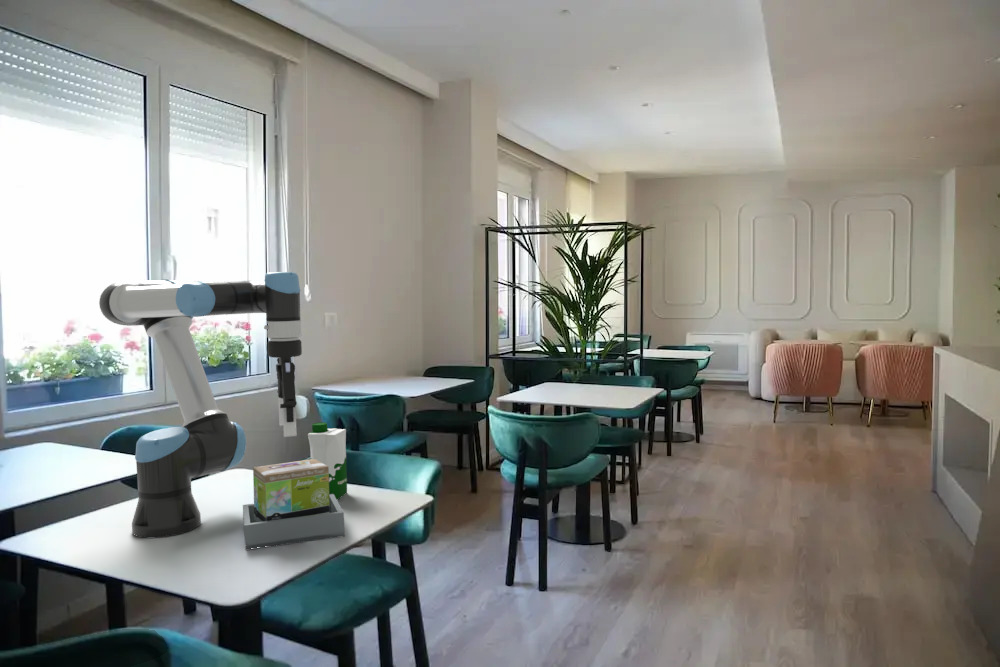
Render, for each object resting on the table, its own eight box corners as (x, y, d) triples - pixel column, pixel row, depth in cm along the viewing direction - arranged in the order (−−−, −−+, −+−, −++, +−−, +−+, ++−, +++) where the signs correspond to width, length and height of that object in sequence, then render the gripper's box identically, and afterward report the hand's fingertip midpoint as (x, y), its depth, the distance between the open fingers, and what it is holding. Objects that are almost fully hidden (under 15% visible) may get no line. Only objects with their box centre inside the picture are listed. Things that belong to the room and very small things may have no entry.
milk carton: (321, 491, 207) (318, 420, 205) (352, 492, 205) (349, 421, 204) (307, 500, 198) (304, 426, 197) (338, 501, 196) (335, 427, 195)
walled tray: (243, 527, 177) (242, 504, 177) (334, 515, 184) (333, 493, 184) (245, 550, 162) (244, 525, 161) (344, 536, 169) (343, 512, 169)
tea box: (266, 540, 164) (263, 475, 163) (254, 528, 173) (251, 466, 172) (331, 526, 173) (329, 464, 172) (316, 516, 181) (314, 456, 180)
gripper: (264, 336, 180) (267, 422, 182) (270, 344, 157) (274, 442, 159) (296, 334, 183) (299, 419, 185) (306, 342, 160) (310, 439, 161)
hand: (287, 430), depth 172 cm, fingers open, 13 cm apart
